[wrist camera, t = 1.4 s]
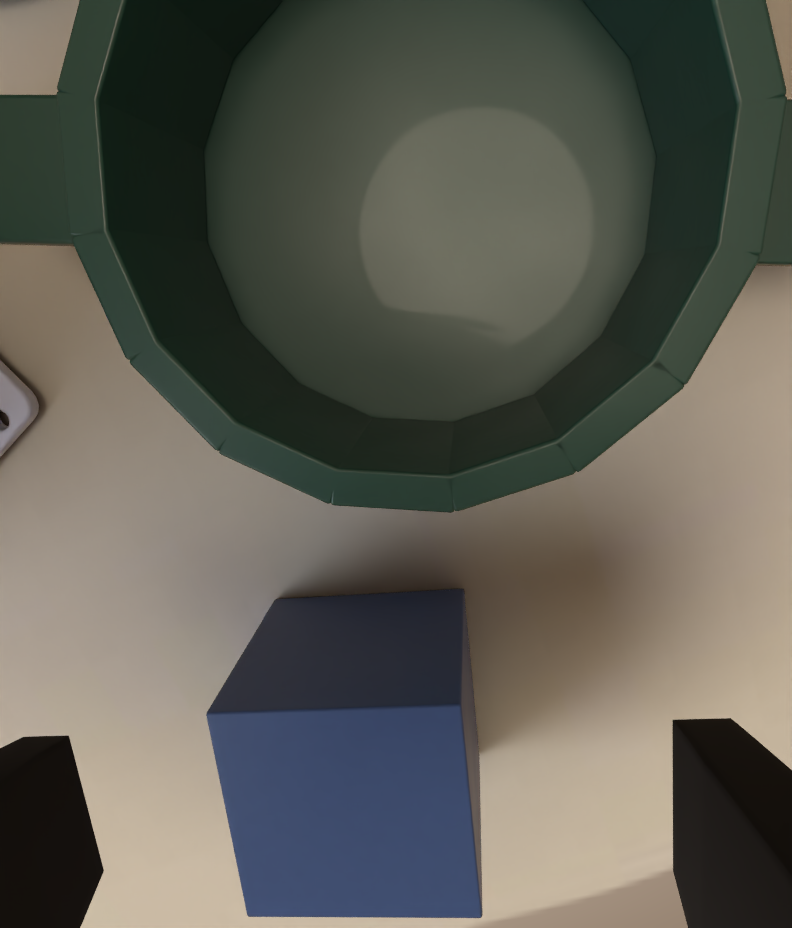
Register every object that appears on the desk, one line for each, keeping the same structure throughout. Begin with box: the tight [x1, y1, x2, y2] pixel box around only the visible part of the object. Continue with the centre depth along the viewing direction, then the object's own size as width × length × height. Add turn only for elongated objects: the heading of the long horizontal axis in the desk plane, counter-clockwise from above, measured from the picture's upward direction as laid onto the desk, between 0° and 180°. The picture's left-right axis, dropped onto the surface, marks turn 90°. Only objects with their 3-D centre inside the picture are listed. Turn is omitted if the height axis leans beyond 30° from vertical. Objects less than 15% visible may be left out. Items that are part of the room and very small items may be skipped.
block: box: [207, 589, 482, 918], centre depth 16 cm, size 5×5×5 cm
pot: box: [0, 0, 792, 513], centre depth 13 cm, size 11×16×5 cm
